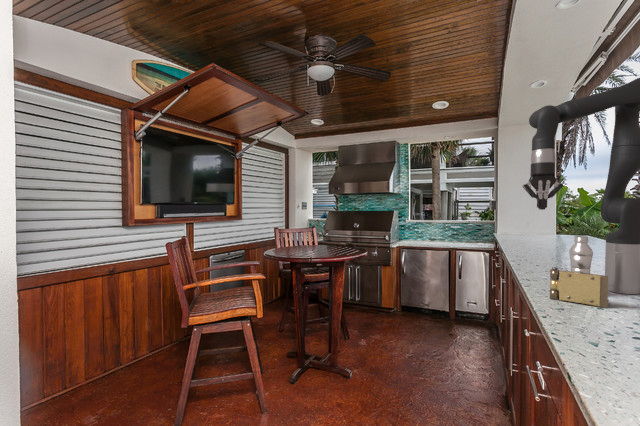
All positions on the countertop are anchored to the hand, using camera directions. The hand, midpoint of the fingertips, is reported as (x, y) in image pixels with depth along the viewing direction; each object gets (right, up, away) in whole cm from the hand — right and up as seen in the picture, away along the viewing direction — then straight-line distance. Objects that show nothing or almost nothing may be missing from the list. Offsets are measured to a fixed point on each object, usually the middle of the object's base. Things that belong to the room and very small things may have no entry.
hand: (541, 209), depth 120 cm
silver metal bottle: (+7, -30, -9) cm, 32 cm away
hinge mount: (0, -29, -16) cm, 34 cm away
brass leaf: (-2, -29, -18) cm, 34 cm away
